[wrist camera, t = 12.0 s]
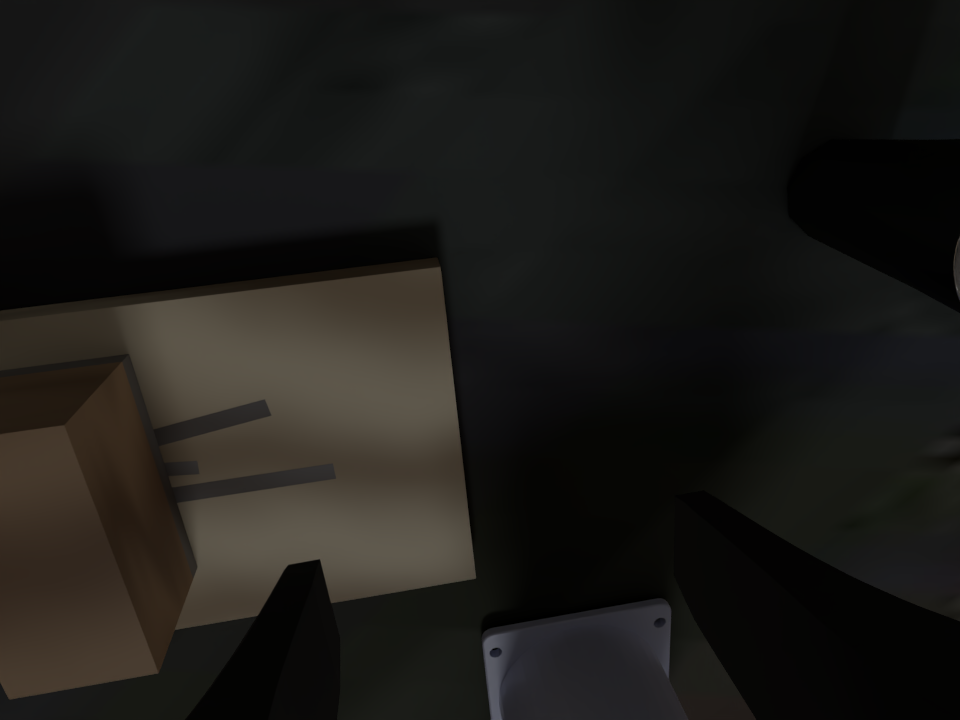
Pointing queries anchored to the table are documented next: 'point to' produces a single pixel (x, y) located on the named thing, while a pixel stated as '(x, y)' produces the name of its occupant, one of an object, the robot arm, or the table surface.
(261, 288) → the board
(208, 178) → the table surface
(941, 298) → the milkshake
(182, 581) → the block
